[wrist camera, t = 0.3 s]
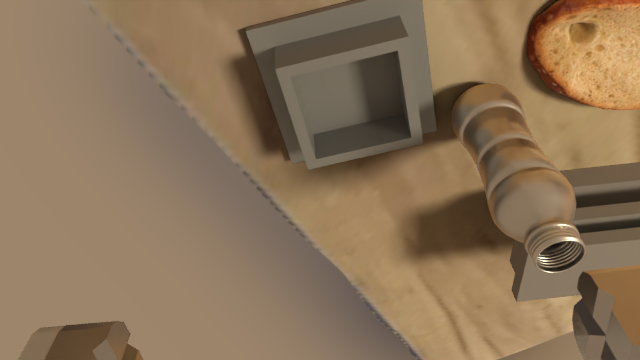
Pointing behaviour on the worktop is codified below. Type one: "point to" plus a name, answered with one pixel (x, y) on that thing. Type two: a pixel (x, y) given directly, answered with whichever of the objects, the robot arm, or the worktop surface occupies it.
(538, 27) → the slice of bread
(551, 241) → the plastic bottle
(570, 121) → the worktop surface
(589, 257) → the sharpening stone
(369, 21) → the holder
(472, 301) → the worktop surface
